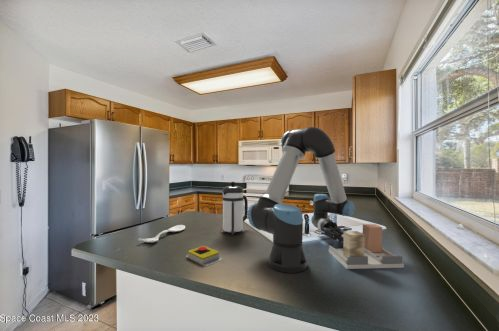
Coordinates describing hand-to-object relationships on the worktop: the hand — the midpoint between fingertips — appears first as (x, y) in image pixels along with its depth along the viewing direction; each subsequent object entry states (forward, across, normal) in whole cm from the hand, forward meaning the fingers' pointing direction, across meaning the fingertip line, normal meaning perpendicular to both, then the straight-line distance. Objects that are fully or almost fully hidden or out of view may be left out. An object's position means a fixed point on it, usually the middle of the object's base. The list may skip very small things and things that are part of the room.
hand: (350, 242), depth 94 cm
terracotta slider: (-7, -14, -6) cm, 17 cm away
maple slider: (+3, 0, -6) cm, 7 cm away
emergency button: (-7, +61, -8) cm, 62 cm away
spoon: (-39, +87, -8) cm, 95 cm away
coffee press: (-45, +48, -8) cm, 67 cm away
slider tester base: (-2, -7, -8) cm, 11 cm away
